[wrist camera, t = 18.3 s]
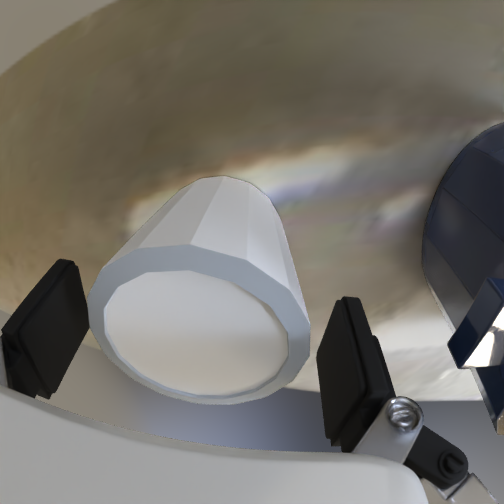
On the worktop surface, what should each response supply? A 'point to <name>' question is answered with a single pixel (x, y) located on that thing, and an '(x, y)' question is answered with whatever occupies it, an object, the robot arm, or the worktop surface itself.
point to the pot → (472, 263)
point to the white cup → (205, 298)
